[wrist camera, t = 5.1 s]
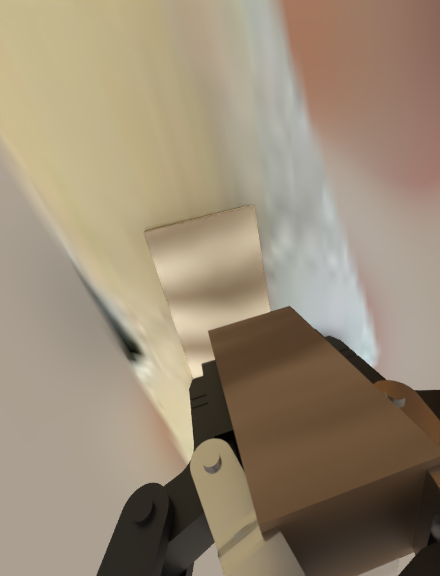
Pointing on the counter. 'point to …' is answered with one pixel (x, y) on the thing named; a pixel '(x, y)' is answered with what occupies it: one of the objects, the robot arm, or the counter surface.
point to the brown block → (321, 447)
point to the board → (209, 276)
